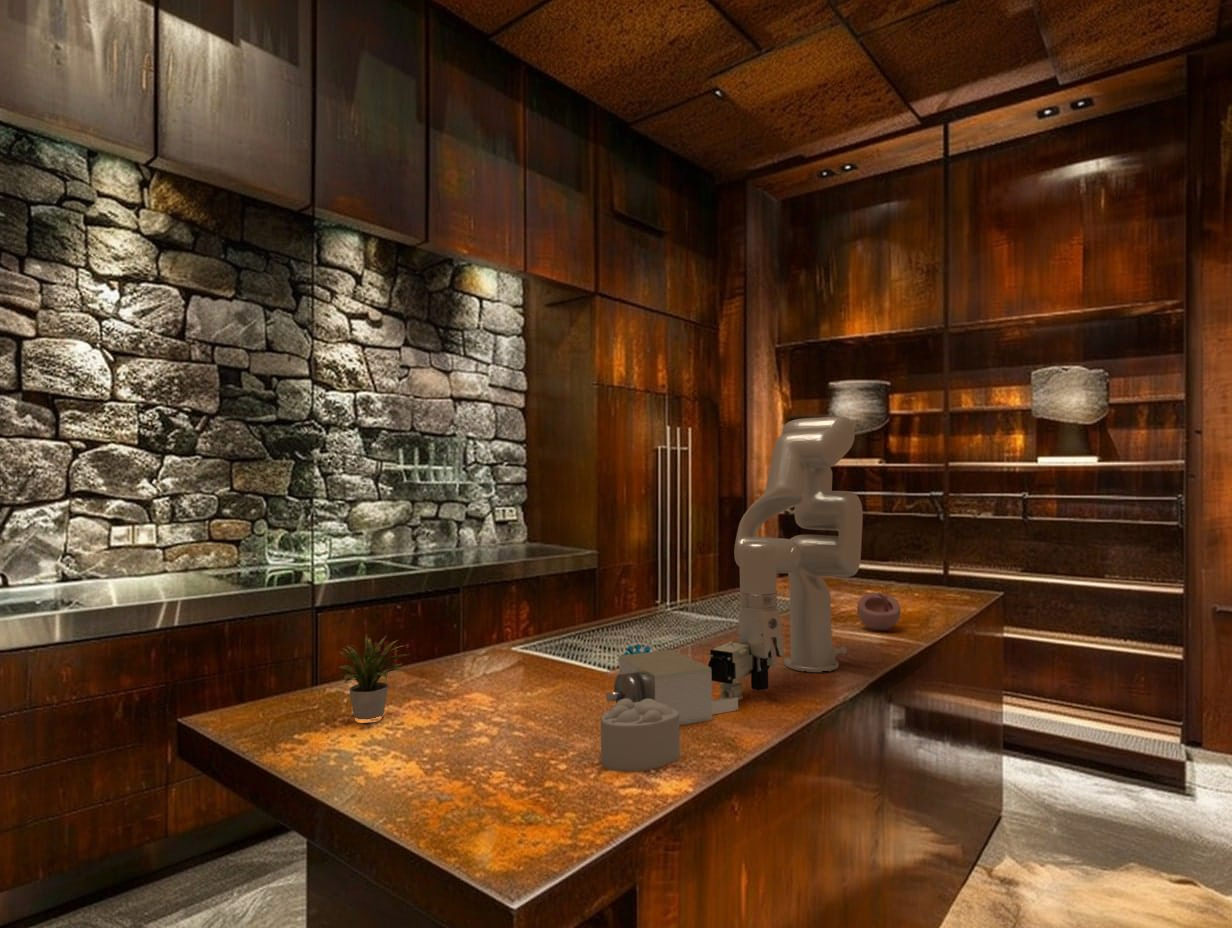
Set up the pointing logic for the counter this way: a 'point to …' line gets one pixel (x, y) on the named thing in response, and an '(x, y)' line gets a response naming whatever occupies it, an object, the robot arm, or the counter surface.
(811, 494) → the robot arm
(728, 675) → the pneumatic valve
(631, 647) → the teal lobed piece
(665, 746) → the lumpy-topped squat cylinder
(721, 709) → the motor
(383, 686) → the house plant
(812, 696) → the counter surface
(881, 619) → the mortar and pestle
